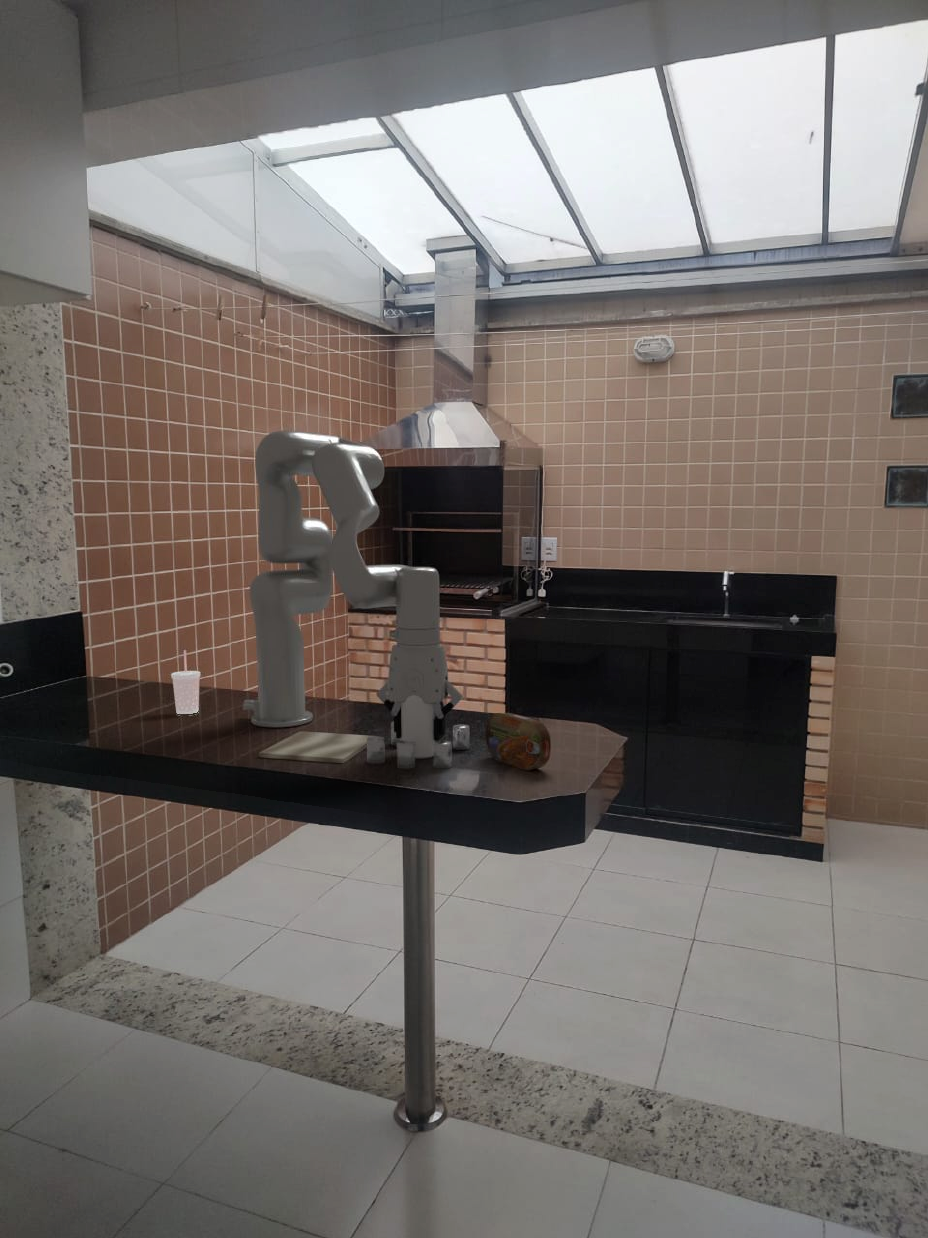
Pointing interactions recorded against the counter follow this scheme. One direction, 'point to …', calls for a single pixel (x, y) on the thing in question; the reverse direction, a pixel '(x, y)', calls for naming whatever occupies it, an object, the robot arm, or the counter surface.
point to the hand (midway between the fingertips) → (419, 737)
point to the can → (418, 726)
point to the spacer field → (408, 748)
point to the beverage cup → (186, 690)
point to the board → (317, 747)
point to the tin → (518, 741)
